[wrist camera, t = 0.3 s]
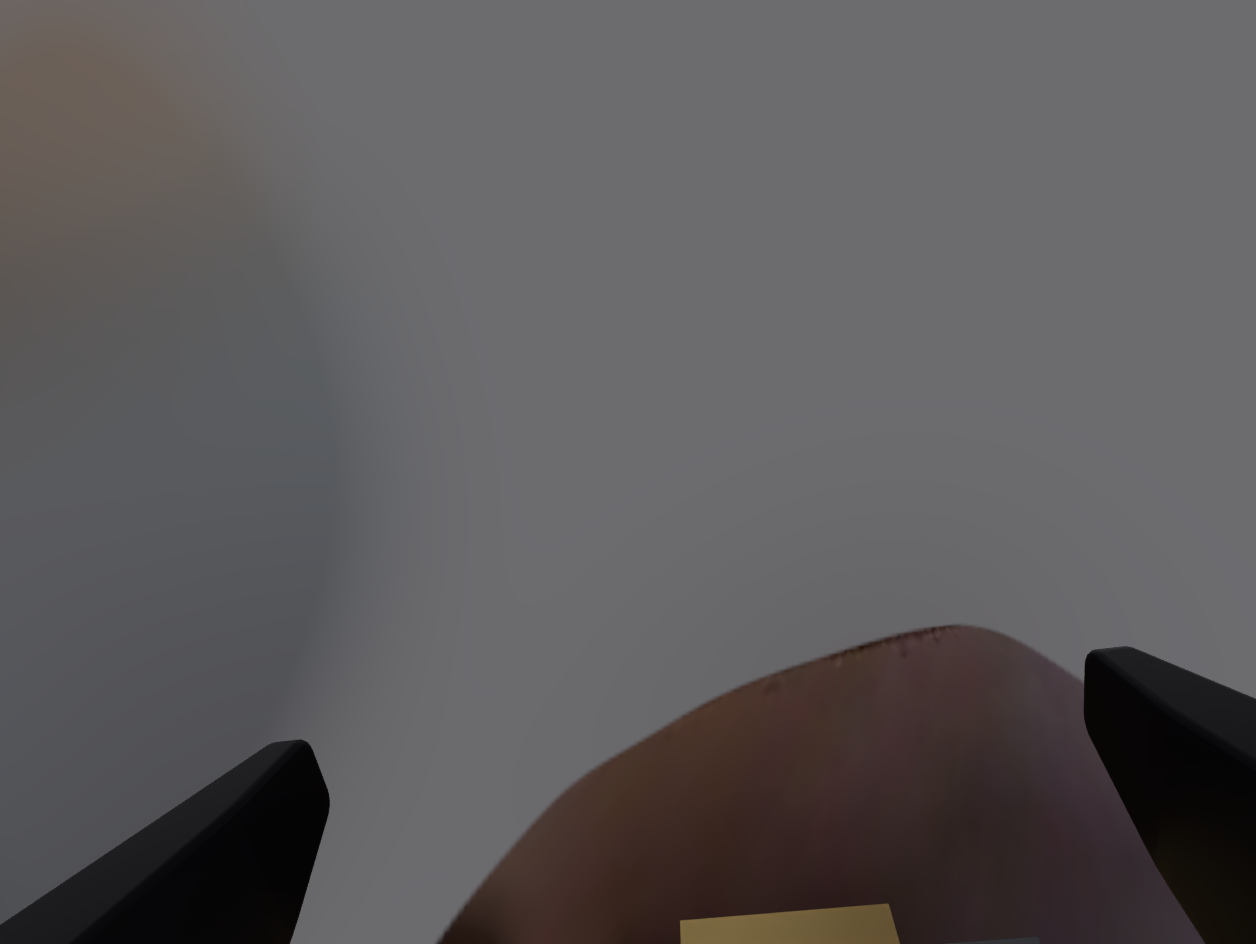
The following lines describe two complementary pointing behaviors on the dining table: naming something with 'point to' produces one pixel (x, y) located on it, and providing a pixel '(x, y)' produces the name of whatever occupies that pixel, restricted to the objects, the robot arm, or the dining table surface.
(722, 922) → the key
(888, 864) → the dining table surface
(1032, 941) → the keypad
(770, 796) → the dining table surface
